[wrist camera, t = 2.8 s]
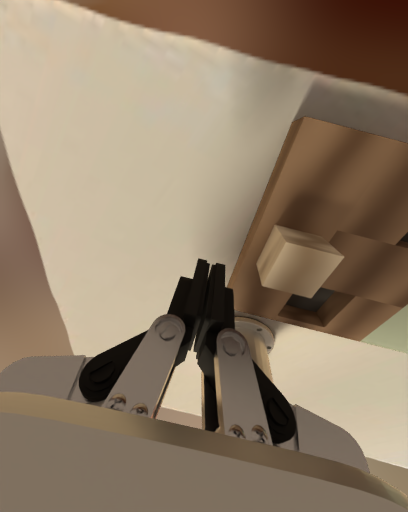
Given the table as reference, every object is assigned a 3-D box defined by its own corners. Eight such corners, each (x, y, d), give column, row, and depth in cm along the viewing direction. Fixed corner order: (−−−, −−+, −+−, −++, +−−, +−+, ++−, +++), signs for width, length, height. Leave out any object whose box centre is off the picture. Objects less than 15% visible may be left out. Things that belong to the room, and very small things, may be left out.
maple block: (321, 236, 17) (344, 256, 14) (297, 273, 20) (311, 298, 17) (274, 224, 17) (286, 242, 14) (256, 263, 20) (262, 286, 16)
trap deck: (507, 179, 15) (562, 184, 13) (347, 323, 27) (359, 341, 25) (292, 122, 15) (304, 116, 13) (224, 292, 27) (224, 307, 24)
